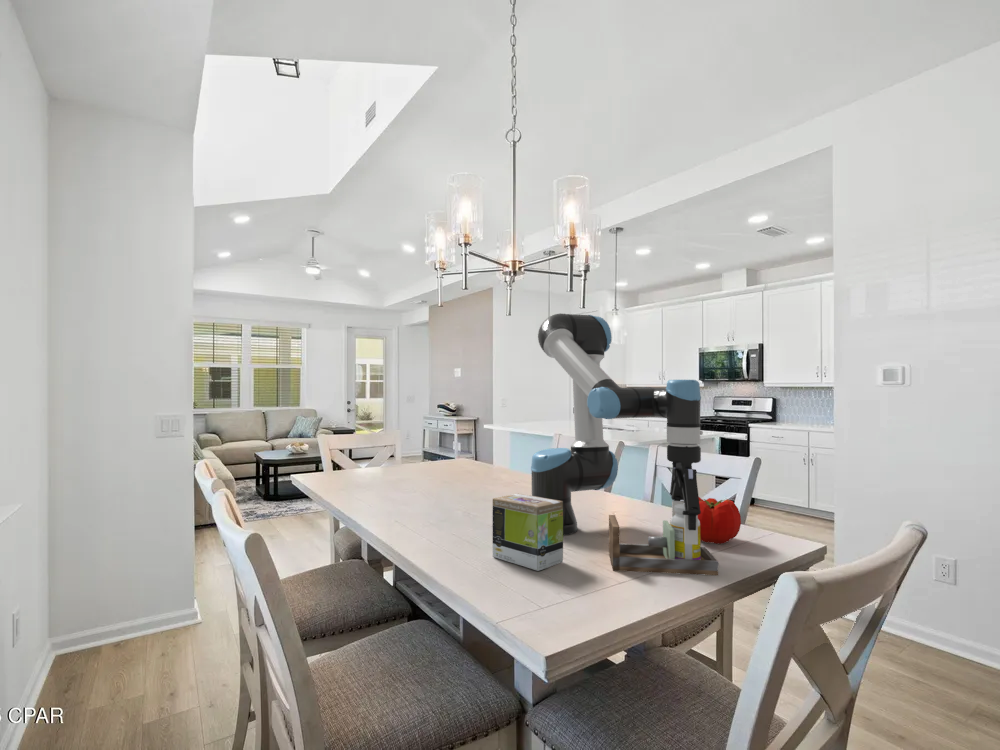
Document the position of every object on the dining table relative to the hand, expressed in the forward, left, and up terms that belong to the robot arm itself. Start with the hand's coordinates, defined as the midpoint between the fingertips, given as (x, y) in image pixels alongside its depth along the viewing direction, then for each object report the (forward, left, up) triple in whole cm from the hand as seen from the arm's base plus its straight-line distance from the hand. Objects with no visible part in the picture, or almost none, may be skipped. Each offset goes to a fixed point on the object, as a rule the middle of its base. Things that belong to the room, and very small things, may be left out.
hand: (684, 535), depth 122 cm
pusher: (-6, 0, -6) cm, 8 cm away
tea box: (-37, -1, -7) cm, 38 cm away
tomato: (+12, +21, -7) cm, 26 cm away
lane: (-5, 0, -7) cm, 9 cm away
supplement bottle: (0, 0, -6) cm, 6 cm away
